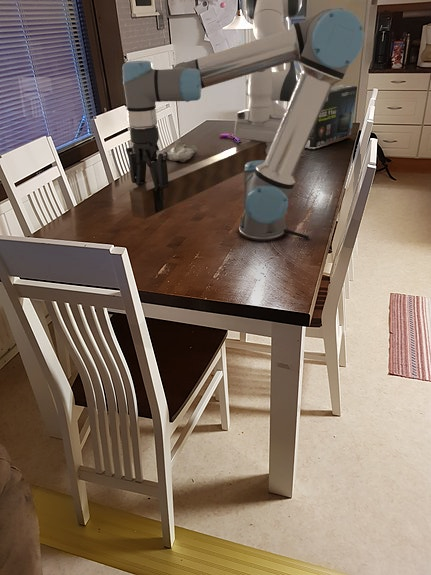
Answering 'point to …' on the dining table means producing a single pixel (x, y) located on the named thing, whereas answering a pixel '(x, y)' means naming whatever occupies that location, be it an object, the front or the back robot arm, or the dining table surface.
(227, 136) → the handgun
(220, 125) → the dining table surface
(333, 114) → the router box
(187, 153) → the fossil
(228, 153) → the bar
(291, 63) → the back robot arm
